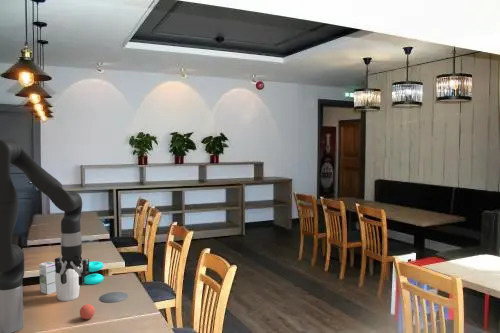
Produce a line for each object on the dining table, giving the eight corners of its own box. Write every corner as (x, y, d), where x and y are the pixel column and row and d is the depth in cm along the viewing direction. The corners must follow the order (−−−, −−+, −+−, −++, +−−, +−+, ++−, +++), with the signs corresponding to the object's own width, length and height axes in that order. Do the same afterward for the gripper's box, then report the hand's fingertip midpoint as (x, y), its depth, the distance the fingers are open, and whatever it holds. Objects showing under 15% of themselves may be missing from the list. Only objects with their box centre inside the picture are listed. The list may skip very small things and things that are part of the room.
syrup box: (57, 291, 211) (56, 262, 210) (46, 295, 206) (45, 265, 205) (50, 289, 214) (49, 260, 213) (39, 292, 209) (38, 263, 208)
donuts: (106, 263, 224) (87, 267, 217) (106, 282, 224) (87, 286, 218) (98, 259, 231) (80, 263, 224) (99, 277, 232) (80, 281, 225)
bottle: (85, 294, 207) (84, 242, 206) (73, 302, 196) (72, 248, 194) (63, 293, 208) (62, 241, 207) (50, 301, 197) (49, 247, 196)
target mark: (102, 304, 194) (102, 304, 194) (96, 295, 205) (96, 295, 205) (131, 299, 201) (131, 298, 201) (123, 290, 212) (123, 290, 212)
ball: (81, 322, 175) (80, 308, 175) (78, 317, 180) (78, 303, 180) (96, 319, 178) (96, 305, 178) (93, 314, 183) (93, 300, 183)
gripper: (93, 241, 170) (94, 282, 171) (61, 240, 173) (62, 279, 174) (81, 246, 163) (83, 288, 164) (48, 244, 166) (50, 286, 167)
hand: (72, 284), depth 169 cm, fingers open, 7 cm apart
